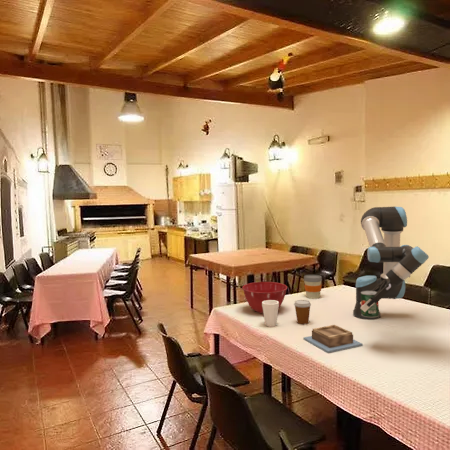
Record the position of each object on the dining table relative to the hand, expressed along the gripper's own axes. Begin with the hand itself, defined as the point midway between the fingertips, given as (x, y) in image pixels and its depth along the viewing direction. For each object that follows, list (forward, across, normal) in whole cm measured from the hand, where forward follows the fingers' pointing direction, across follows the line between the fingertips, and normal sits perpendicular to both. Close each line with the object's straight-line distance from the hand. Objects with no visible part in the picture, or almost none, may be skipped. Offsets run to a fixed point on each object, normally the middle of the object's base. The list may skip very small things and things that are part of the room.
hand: (362, 307), depth 191 cm
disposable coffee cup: (+35, +28, +10) cm, 46 cm away
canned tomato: (0, 0, -5) cm, 5 cm away
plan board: (+23, 0, -2) cm, 23 cm away
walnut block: (+23, 0, -2) cm, 23 cm away
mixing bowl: (+53, +48, +28) cm, 77 cm away
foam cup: (+47, +20, +22) cm, 56 cm away
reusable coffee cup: (+35, +86, +9) cm, 93 cm away
